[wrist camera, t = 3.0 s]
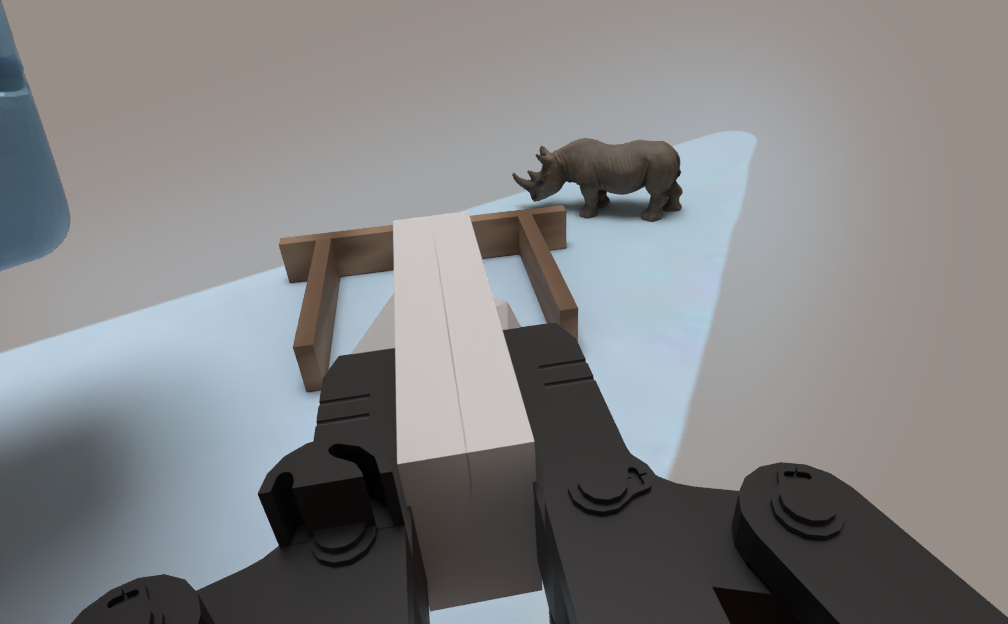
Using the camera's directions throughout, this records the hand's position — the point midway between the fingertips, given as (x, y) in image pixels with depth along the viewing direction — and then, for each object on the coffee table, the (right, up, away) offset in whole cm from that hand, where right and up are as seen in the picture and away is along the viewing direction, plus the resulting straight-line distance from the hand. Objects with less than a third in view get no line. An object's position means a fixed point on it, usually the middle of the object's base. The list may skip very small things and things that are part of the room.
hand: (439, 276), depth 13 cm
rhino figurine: (+9, +7, +38) cm, 40 cm away
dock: (-3, 0, +26) cm, 27 cm away
